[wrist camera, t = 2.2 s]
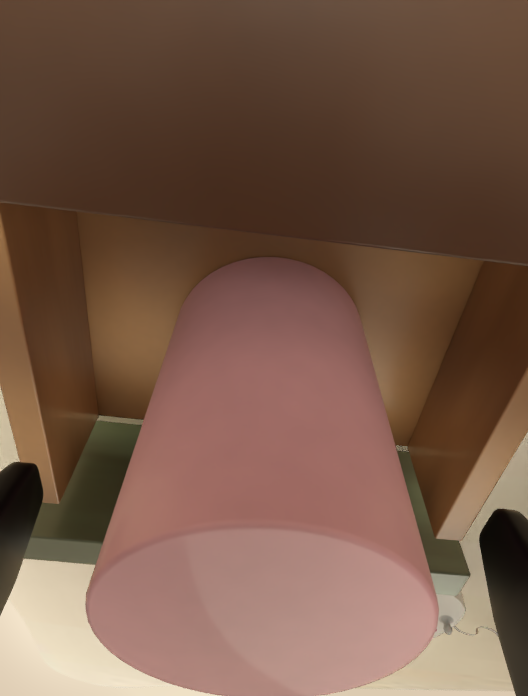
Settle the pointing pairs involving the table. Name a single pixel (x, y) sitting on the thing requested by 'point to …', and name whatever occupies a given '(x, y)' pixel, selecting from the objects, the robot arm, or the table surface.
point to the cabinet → (275, 117)
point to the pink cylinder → (265, 502)
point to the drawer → (156, 330)
